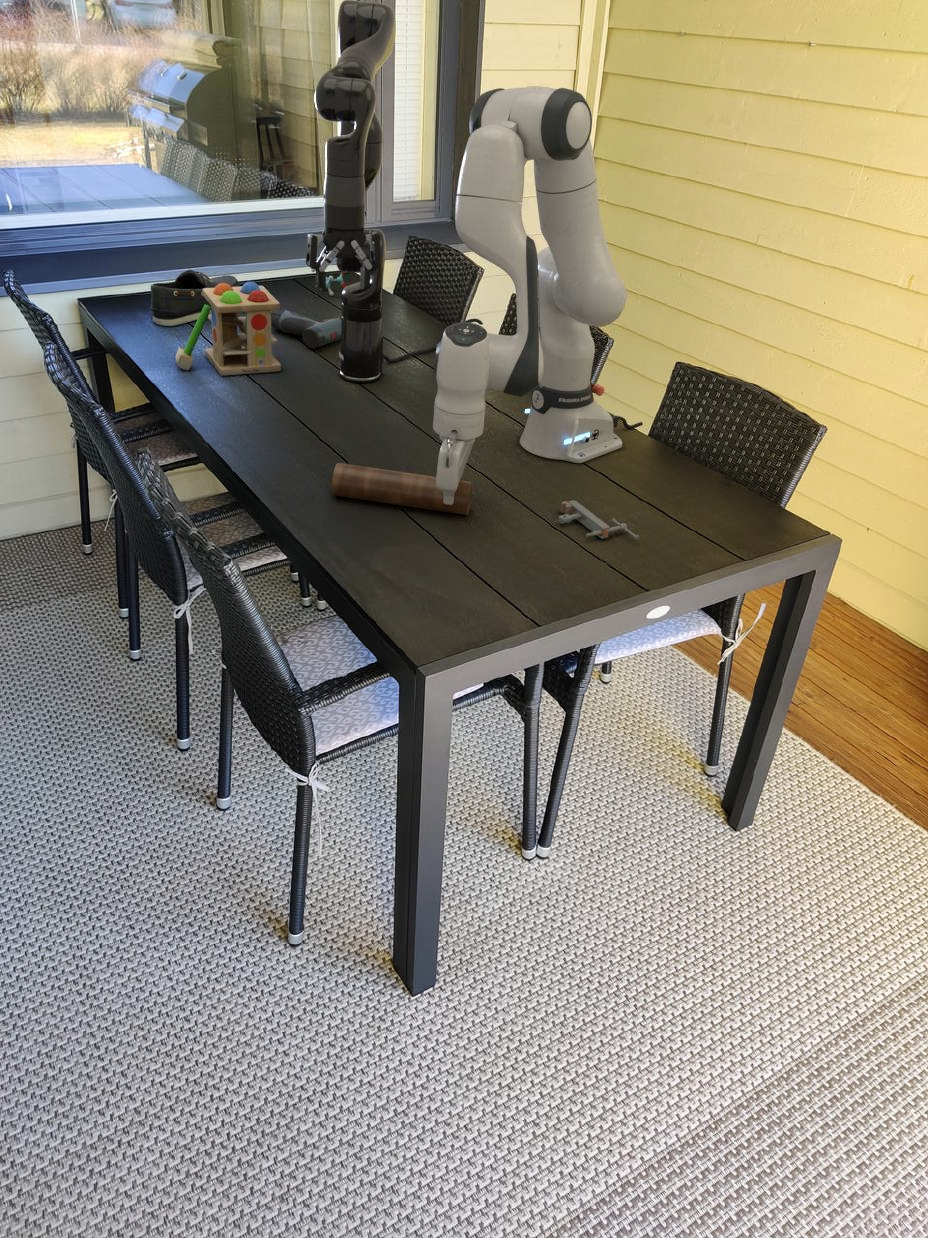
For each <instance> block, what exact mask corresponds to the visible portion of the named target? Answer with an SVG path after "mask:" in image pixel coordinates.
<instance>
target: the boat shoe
mask: <svg viewBox="0 0 928 1238" xmlns="http://www.w3.org/2000/svg"><path fill="white" fill-rule="evenodd" d="M221 283H226V284H228V285H230V286H231V287H241V284H240V282H239V280H238V279H237V277H235V276H234V275H222V276H221V275H220V276H216V277H212V278H210V277H209V276H207V275H206V274H205V273H203V272H201V271H197V270H192V269H187V270H185V271H183V272H181V273H179V275H178V276H177V277H176V279H175V280H174V281H170V282H169V281H168V282H156V283H151V284H150V293H151V294H150V295H151V303H150V304H151V306H150V307H149V309H150V311H152V322H153V323H154V324H157V325H158V326H159V325H160V326H164V327H172V326H178V325H182V324H186V323H189V322H193V321H197V320H198V318H199V316H200V314H201V311H202V309H203V307H204V305H208V306H210V307H211V305H210V304H209V302H208V301H207V300H206V299H205V297H204V296H203V289H204V288H215V287H216V286H217V285H218V284H221ZM209 314H211V310H210V312H209Z"/></svg>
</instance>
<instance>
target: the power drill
mask: <svg viewBox="0 0 928 1238" xmlns="http://www.w3.org/2000/svg"><path fill="white" fill-rule="evenodd" d="M271 328H274V329H276V330H278V331H281V332H284V333H288V334H290V335H296V336H300V337H302V341H303V343H304V344H305V346H306V347H308V348H309V349H316V348H319V347H322V346H325V345H328V344H330V343H333V342H336V341H338V340H341V317H338V318H331V319H324V320H322V321H320V322H319V321H316V320H314V319H312V318H309V317H306V316H304V315H302V314H300V313H297V312H293V311H291V310H288V309H283V308H280V310H271Z"/></svg>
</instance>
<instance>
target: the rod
mask: <svg viewBox="0 0 928 1238" xmlns="http://www.w3.org/2000/svg"><path fill="white" fill-rule="evenodd" d="M473 485H474V484H473V482H472V481H468V480H463V479H462V480H460V482H459V485H458V487H457V490H456V492H455V499H454V502H453V504H452V505H449V504H445V503H444V502H443V499H444V494H443V491H439V490H437V489H436V476H434V475H426V474H419V473H413V472H406V471H401V470H392V469H385V468H378V467H372V466H365V465H357V464H351V463H344V462H337V463H336V464H335V466H334V469H333V474H332V481H331V492H332V495H333V496H336V497H340V498H341V497H342V498H348V499H355V500H362V501H370V502H376V503H383V504H389V505H395V506H396V505H397V506H402V507H408V508H416V509H423V510H429V511H436V512H442V513H450V514H456V515H462V516H463V515H464V516H468V515H469V513H470V507H471V503H472V497H473Z"/></svg>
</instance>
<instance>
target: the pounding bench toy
mask: <svg viewBox="0 0 928 1238" xmlns="http://www.w3.org/2000/svg"><path fill="white" fill-rule="evenodd" d="M203 296H204V297H205V299H206V300H207V301H208V302H209V304H210V305H211V307H210V306H208V305H204V307H203V309H202V311H201V314H200V316H199V318H198V319H197V320H196V322H195V324H194V327H193V329H192V331H191V332H190V333H191V334H190V336H189V338H188V340H187V343H186V344H185V347H184V348H182V347H180V346H179V347H178V349H177V351H176V354H175V357H174V358H175V362H176V365H177V366H178V368H179V369H182V370H185V371H189V370H190V369H191V367H192V365H193V363H194V356H193V351H194V348H195V347H196V345H197V342H198V340H199V337H200V336H201V333H202V332H203V329H204V326H205V325H206V322H207V320H209V321H210V322H211V336H212V337H211V338H212V339H211V340H212V348H205V349H204V352H205V353H204V355H205V357H206V359H208V361H209V363H210V364H211V365H212V366H213V367H214V369H215V370H216V371H217V372H218V374H219V375H220V376H222V377H223V376H234V375H235V376H236V375H246V374H247V375H250V374H262V373H275V372H281V370H282V364H281V363H280V362H279V360H278V359H277V358H276V357H275V356H274V355H273V348H272V347H273V345H272V344H276V343H278V342H279V341H278V339H277V338H276V337H275V336H274V334H272V327H271V310H280V309H281V304H280V301H278V300H277V299H276V297H274V296H273V295H272V294H271V293H270V292H269V290H268V289H267V288H266V287H264V285H259V284H257V283H256V282H255V281H247V282H245V283H244V284H243V285H242V286H240V287H231V286H230V285H228V284H226V283H221V284H218V285H217V286H216V287H215V288H204V289H203ZM210 310H211V313H209V312H210ZM238 313H244V314H245V315H244V316H238ZM238 329H239V331H240V333H239V334H238Z"/></svg>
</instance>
